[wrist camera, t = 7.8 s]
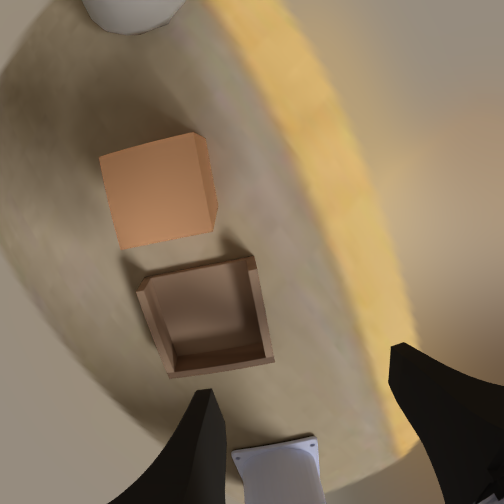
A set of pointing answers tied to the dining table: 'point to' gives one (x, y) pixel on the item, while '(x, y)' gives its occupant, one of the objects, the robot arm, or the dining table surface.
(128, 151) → the block
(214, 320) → the box
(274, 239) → the dining table surface
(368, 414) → the dining table surface
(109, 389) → the dining table surface
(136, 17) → the salt shaker
